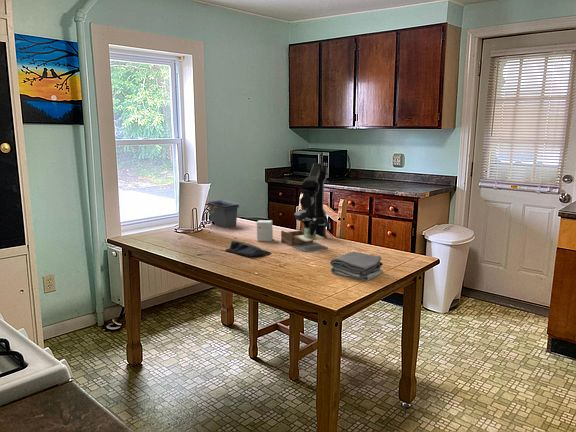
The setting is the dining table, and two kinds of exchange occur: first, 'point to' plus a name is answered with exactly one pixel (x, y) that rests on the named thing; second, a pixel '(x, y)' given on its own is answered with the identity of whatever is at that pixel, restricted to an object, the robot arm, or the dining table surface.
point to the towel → (357, 265)
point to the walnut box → (293, 237)
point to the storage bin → (223, 212)
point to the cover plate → (309, 235)
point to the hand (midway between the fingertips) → (310, 234)
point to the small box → (264, 230)
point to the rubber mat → (309, 247)
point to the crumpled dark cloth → (246, 249)
